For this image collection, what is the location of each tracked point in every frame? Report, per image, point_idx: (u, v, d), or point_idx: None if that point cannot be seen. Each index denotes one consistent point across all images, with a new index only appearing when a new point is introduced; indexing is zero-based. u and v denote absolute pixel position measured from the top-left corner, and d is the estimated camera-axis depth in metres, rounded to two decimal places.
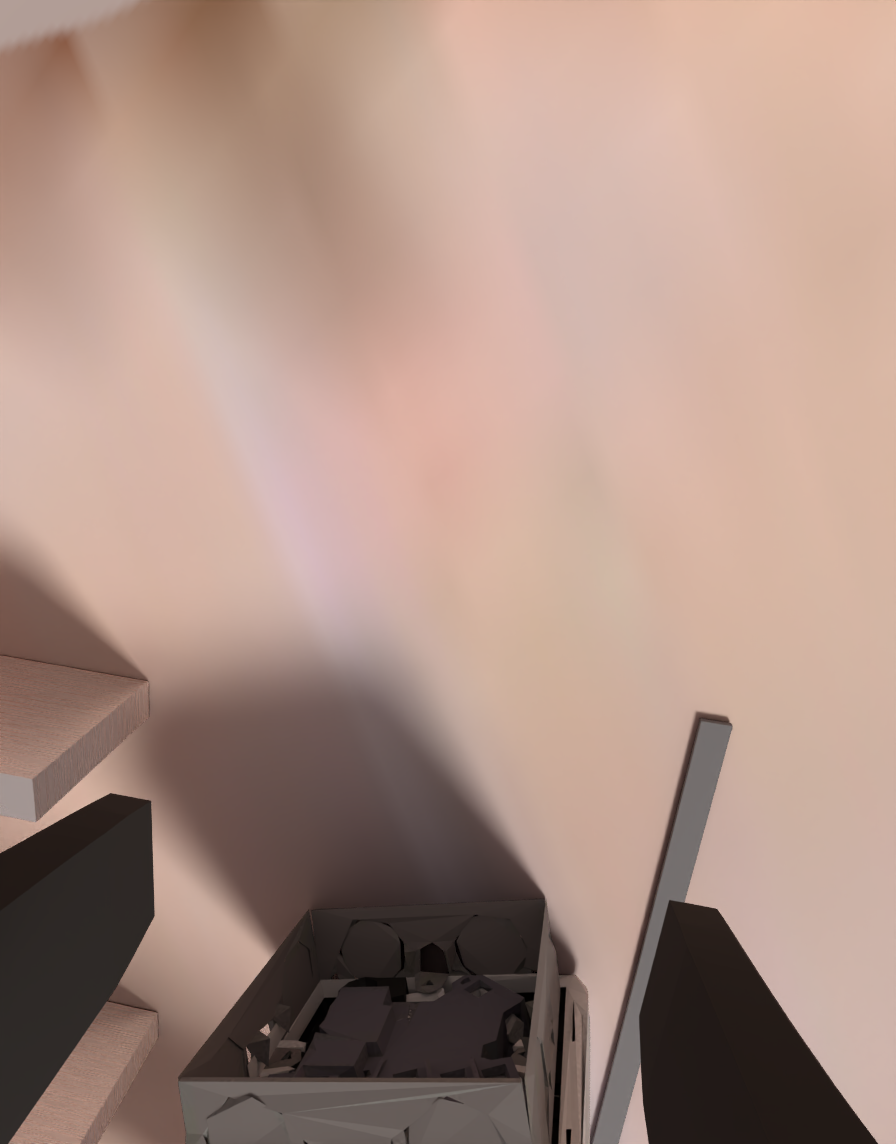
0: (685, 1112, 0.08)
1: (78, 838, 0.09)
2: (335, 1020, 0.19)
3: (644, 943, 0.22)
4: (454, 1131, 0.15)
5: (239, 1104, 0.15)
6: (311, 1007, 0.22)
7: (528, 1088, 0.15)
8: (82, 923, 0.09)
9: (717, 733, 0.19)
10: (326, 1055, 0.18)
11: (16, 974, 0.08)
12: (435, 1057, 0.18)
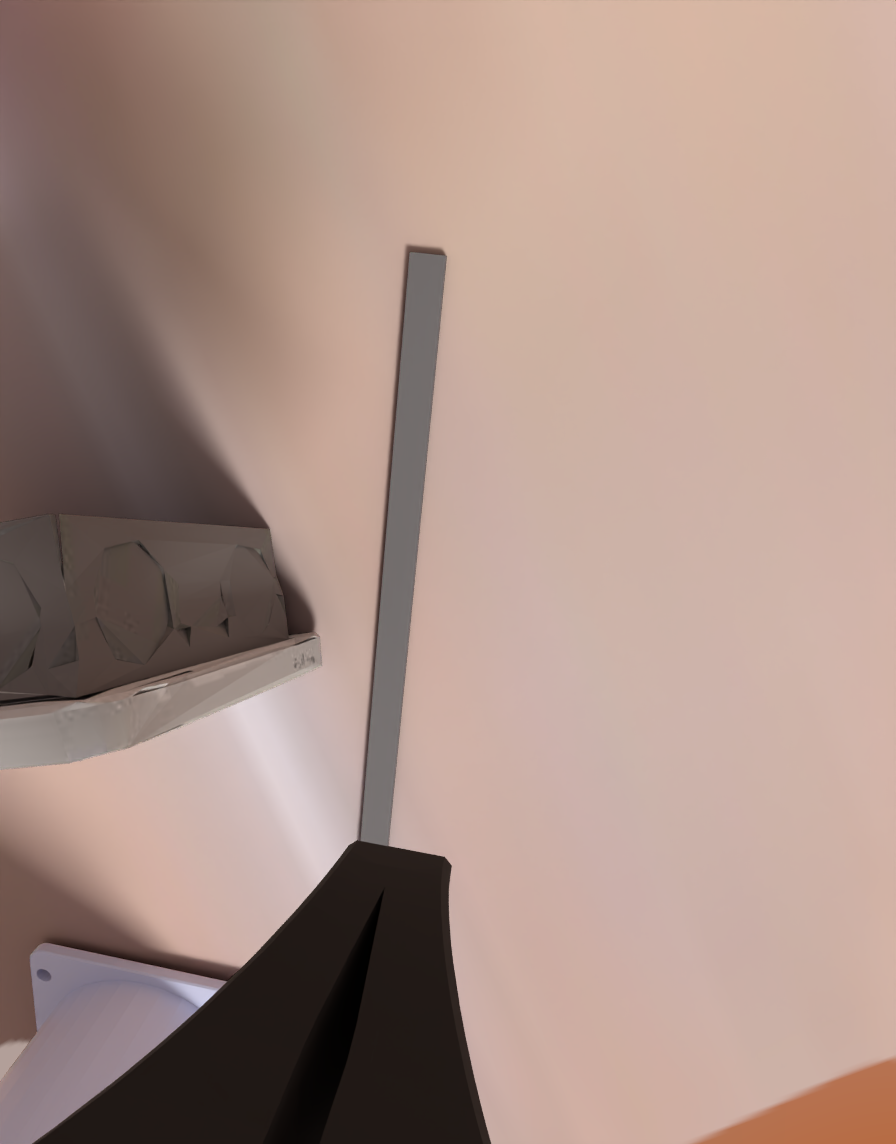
0: None
1: (362, 895, 0.08)
2: None
3: (383, 578, 0.18)
4: None
5: None
6: None
7: (72, 537, 0.11)
8: (364, 983, 0.08)
9: (430, 267, 0.16)
10: None
11: (333, 1044, 0.07)
12: None
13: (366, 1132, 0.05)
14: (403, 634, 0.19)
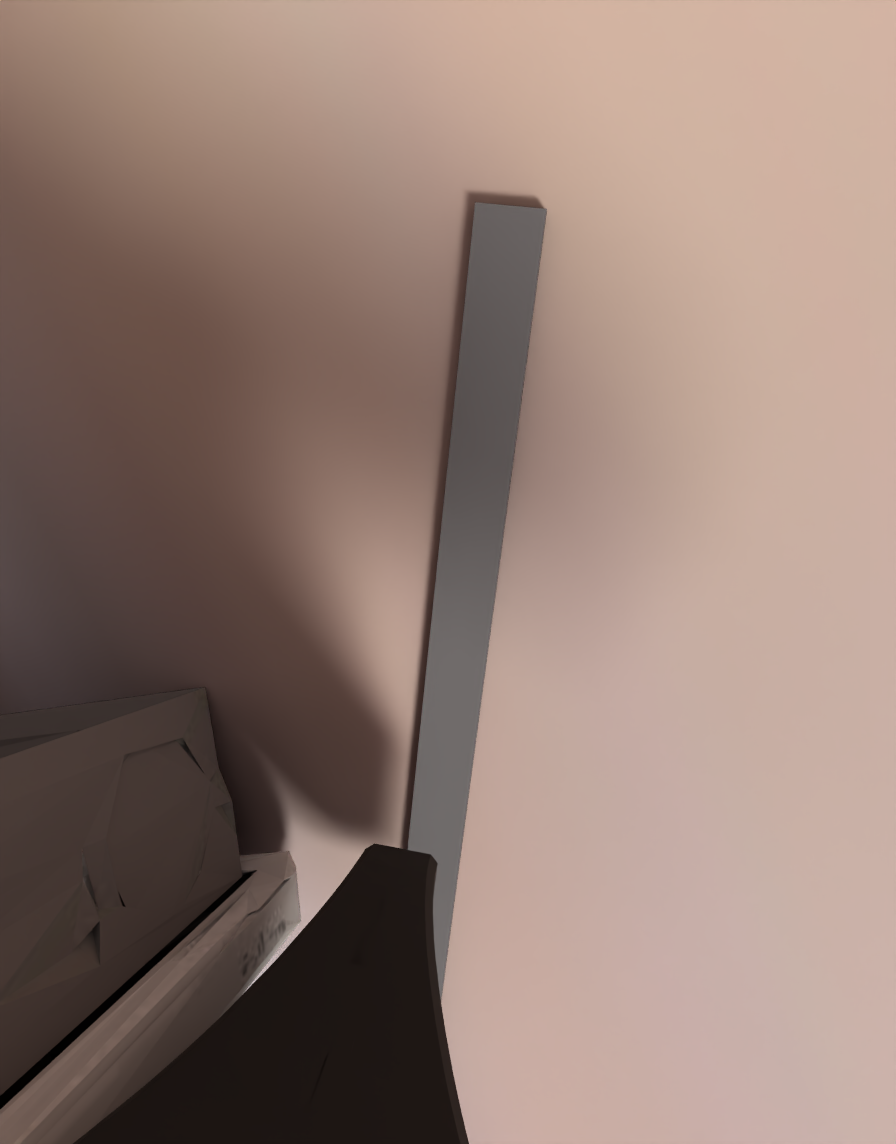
0: None
1: (382, 898, 0.08)
2: None
3: (416, 778, 0.11)
4: None
5: None
6: None
7: None
8: None
9: (514, 232, 0.08)
10: None
11: None
12: None
13: (342, 1126, 0.05)
14: (449, 868, 0.11)
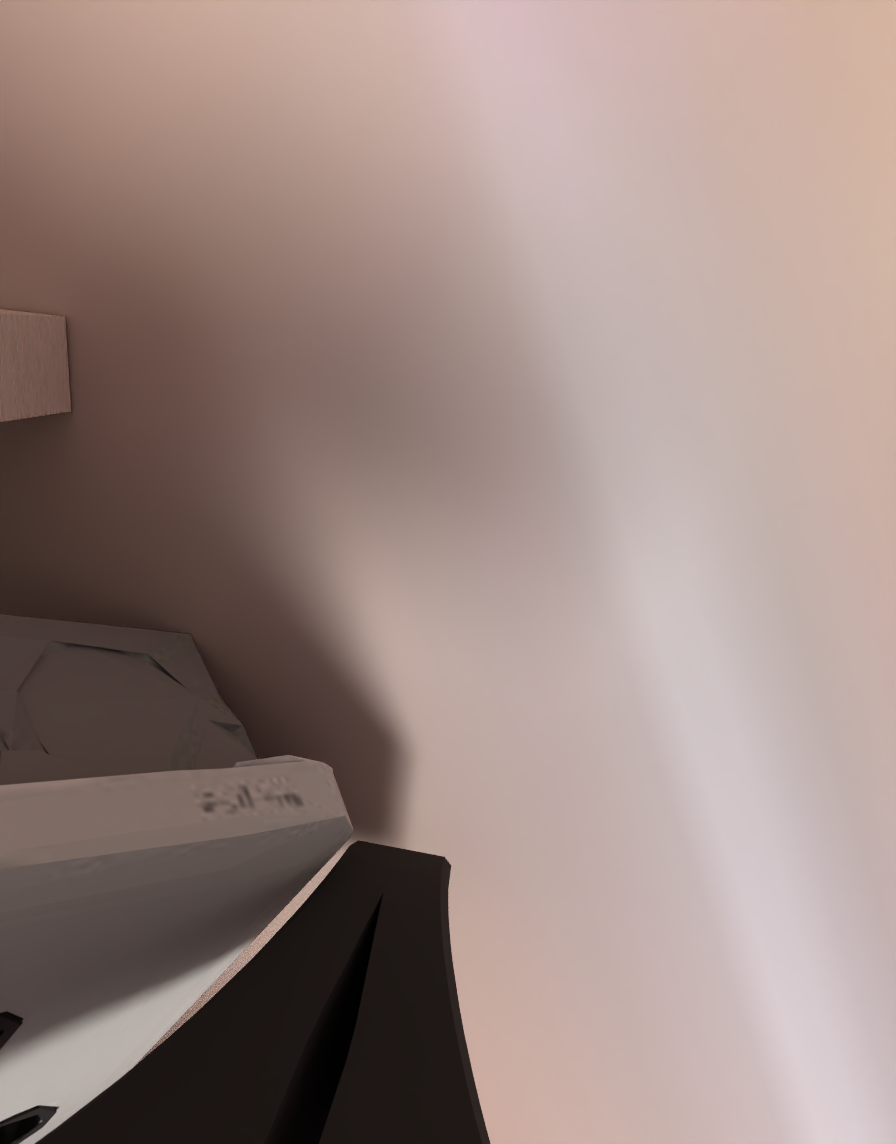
0: None
1: (363, 895, 0.08)
2: None
3: None
4: None
5: None
6: None
7: None
8: None
9: None
10: None
11: (335, 1045, 0.07)
12: None
13: (365, 1132, 0.05)
14: None
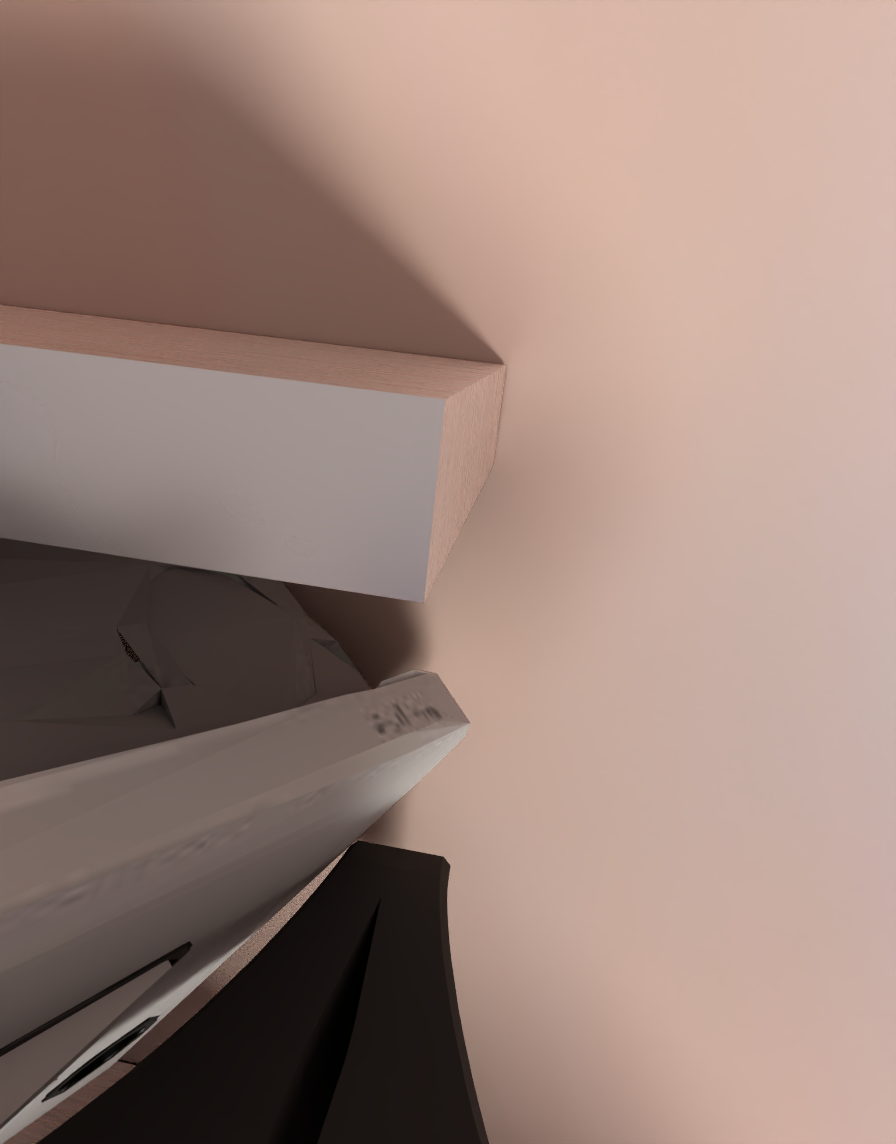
0: None
1: (364, 895, 0.08)
2: None
3: None
4: None
5: None
6: None
7: None
8: None
9: None
10: None
11: (335, 1045, 0.07)
12: None
13: (364, 1131, 0.05)
14: None
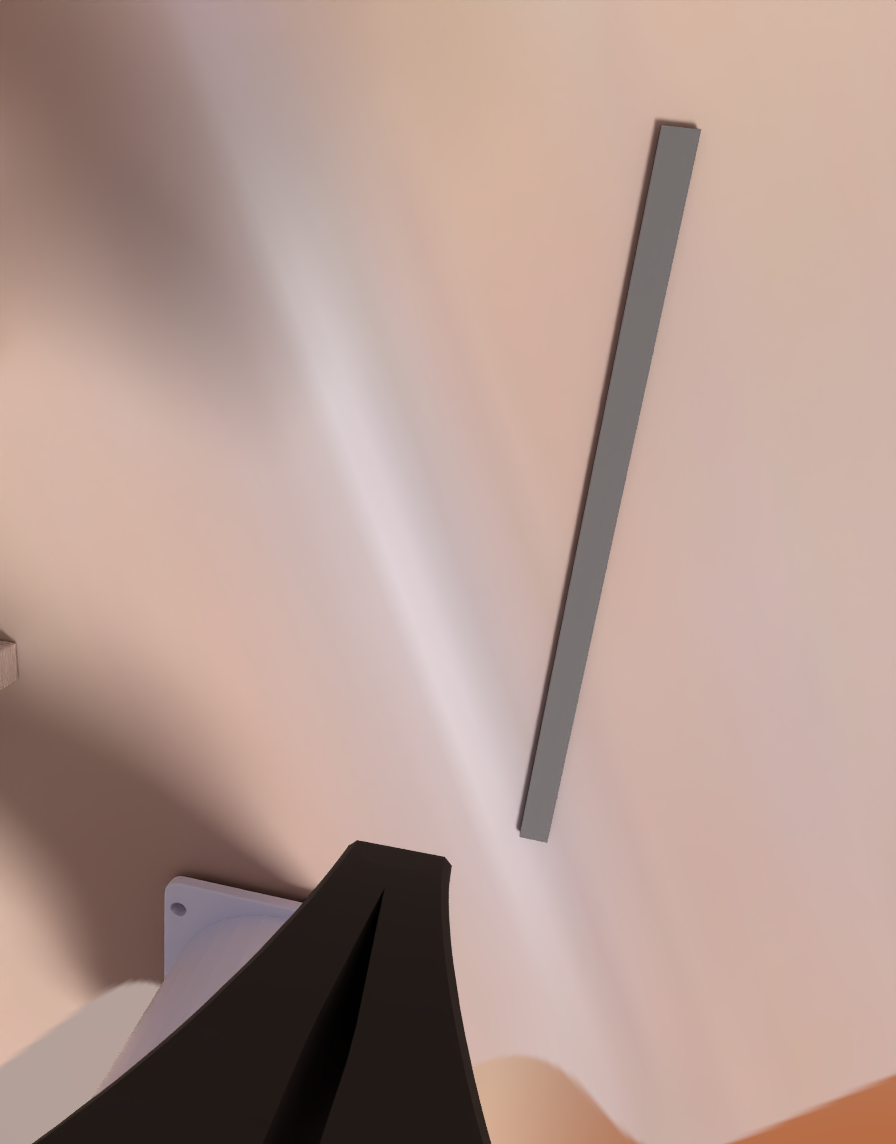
0: None
1: (362, 894, 0.08)
2: None
3: (590, 484, 0.17)
4: None
5: None
6: None
7: None
8: (364, 982, 0.08)
9: (682, 142, 0.15)
10: None
11: (334, 1044, 0.07)
12: None
13: (366, 1132, 0.05)
14: (606, 545, 0.18)
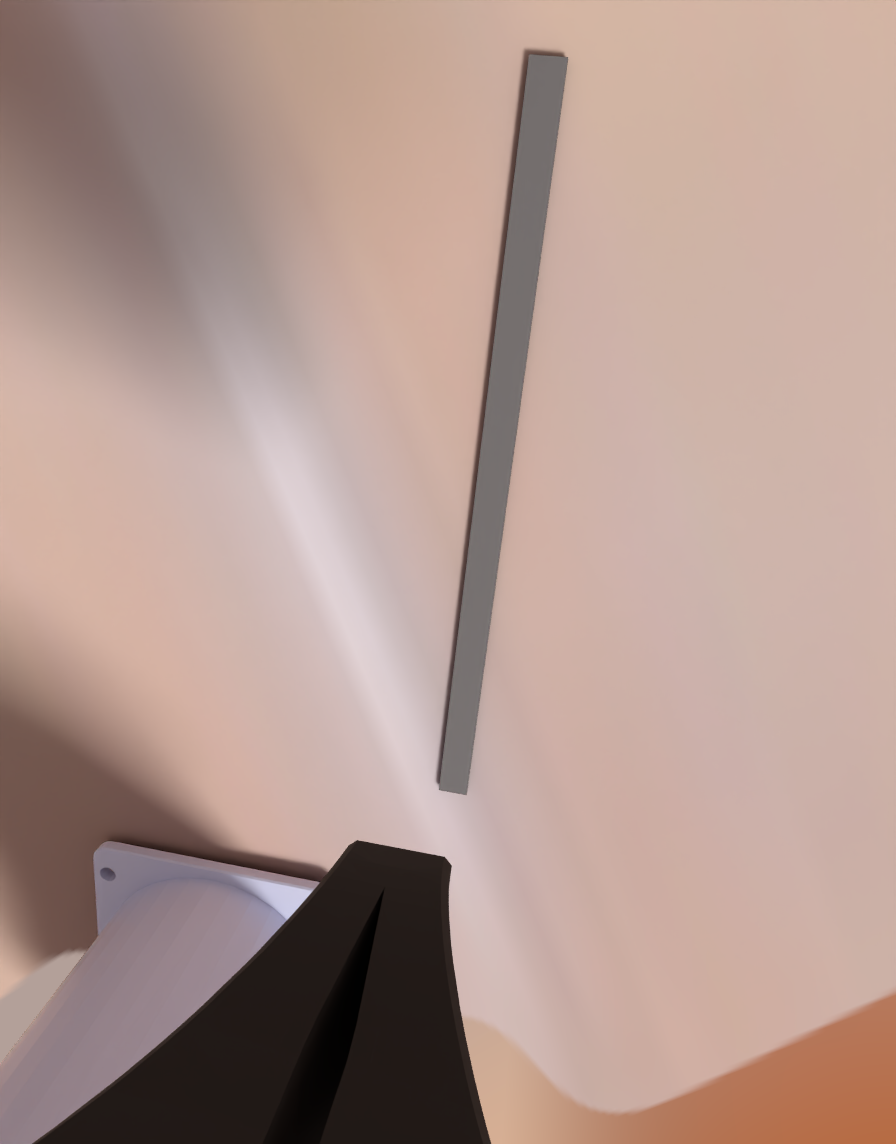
0: None
1: (362, 894, 0.08)
2: None
3: (484, 425, 0.17)
4: None
5: None
6: None
7: None
8: (364, 983, 0.08)
9: (550, 71, 0.15)
10: None
11: (333, 1044, 0.07)
12: None
13: (366, 1132, 0.05)
14: (503, 487, 0.18)
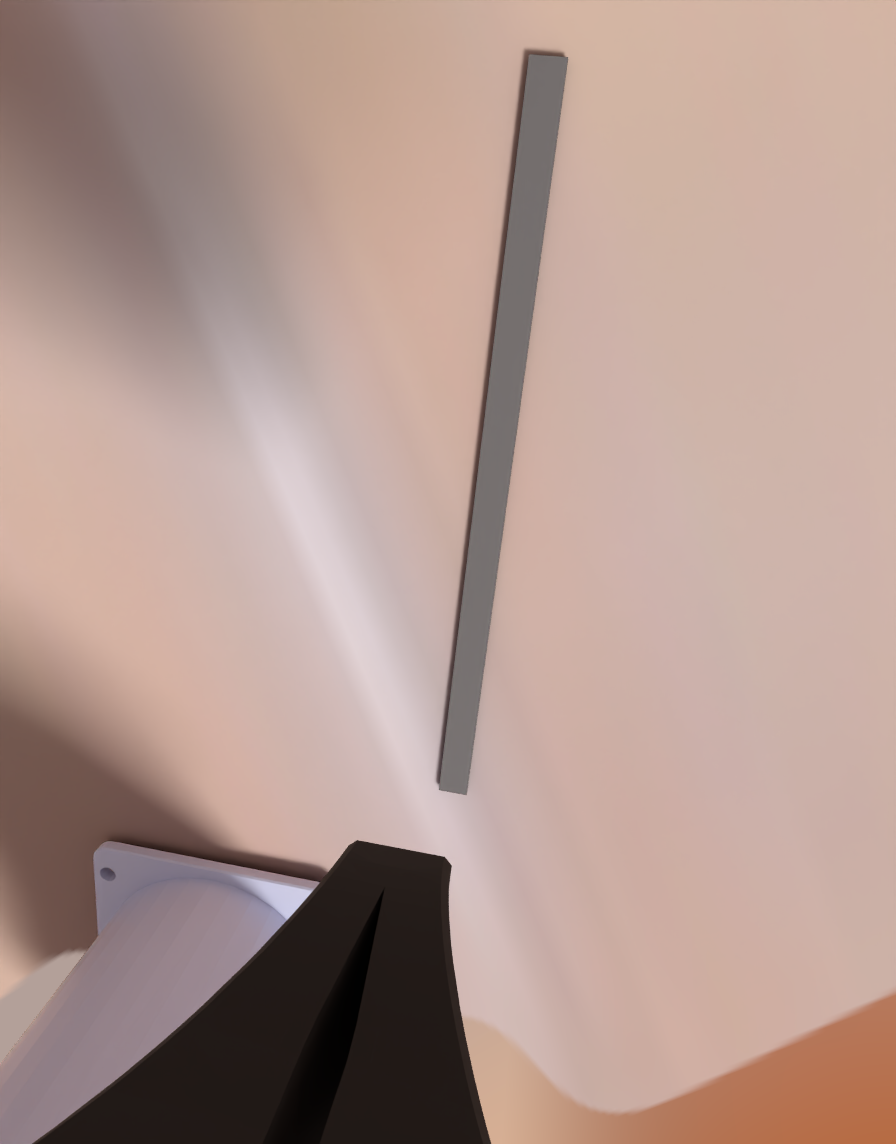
0: None
1: (362, 894, 0.08)
2: None
3: (484, 425, 0.17)
4: None
5: None
6: None
7: None
8: (364, 983, 0.08)
9: (550, 71, 0.15)
10: None
11: (333, 1044, 0.07)
12: None
13: (366, 1132, 0.05)
14: (503, 487, 0.18)
